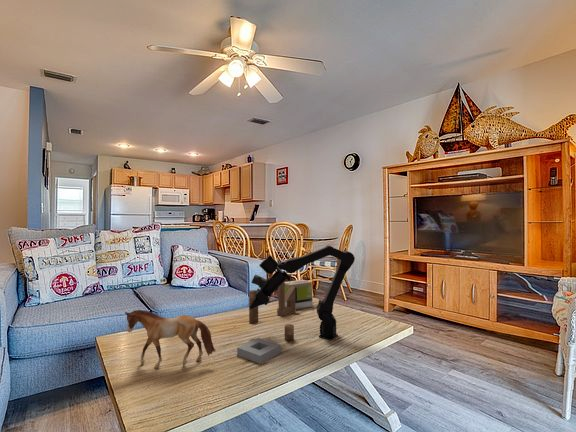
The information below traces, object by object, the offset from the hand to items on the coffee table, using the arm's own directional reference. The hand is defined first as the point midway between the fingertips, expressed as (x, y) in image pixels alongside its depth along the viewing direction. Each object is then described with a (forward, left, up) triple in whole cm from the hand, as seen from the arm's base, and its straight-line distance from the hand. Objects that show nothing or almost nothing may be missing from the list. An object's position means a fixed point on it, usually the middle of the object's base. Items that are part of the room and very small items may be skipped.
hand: (250, 306), depth 134 cm
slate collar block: (-14, +10, -13) cm, 22 cm away
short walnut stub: (-15, -8, -13) cm, 22 cm away
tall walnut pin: (-1, -1, -7) cm, 7 cm away
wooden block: (+8, -36, -14) cm, 39 cm away
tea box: (+11, -51, -14) cm, 54 cm away
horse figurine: (+3, +37, -14) cm, 39 cm away
